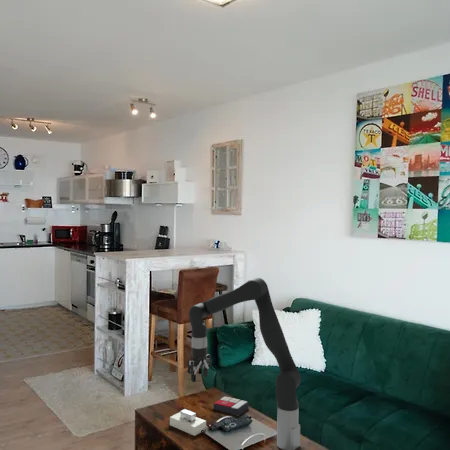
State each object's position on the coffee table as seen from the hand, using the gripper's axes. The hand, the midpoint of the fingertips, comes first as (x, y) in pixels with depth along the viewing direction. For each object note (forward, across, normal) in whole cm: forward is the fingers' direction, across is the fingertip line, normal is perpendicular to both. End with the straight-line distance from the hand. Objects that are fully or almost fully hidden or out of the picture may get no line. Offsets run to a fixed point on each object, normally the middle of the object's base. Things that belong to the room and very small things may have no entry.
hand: (199, 379), depth 219 cm
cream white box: (+22, -6, +2) cm, 23 cm away
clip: (+22, -6, +2) cm, 22 cm away
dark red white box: (+23, +23, -1) cm, 32 cm away
